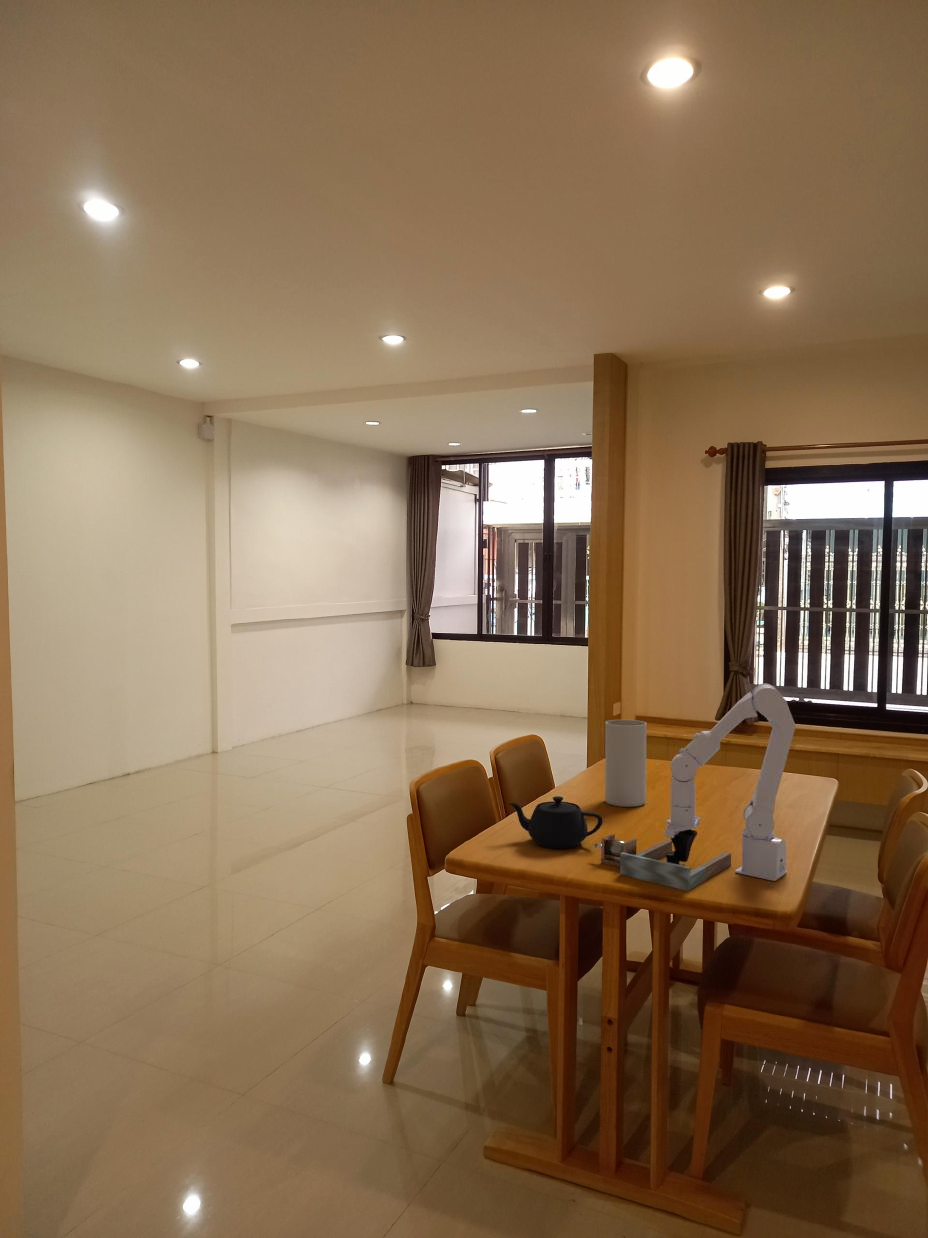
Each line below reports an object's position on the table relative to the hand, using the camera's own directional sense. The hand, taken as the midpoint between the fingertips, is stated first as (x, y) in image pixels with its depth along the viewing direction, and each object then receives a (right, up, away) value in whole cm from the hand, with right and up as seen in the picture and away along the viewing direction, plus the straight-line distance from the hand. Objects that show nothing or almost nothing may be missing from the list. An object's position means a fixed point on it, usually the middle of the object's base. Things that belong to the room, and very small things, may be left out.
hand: (682, 860), depth 208 cm
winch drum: (-16, -1, +3) cm, 16 cm away
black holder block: (-3, -2, -2) cm, 4 cm away
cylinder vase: (-2, +1, +62) cm, 62 cm away
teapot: (-29, -1, +20) cm, 35 cm away
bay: (-2, -2, -2) cm, 3 cm away
